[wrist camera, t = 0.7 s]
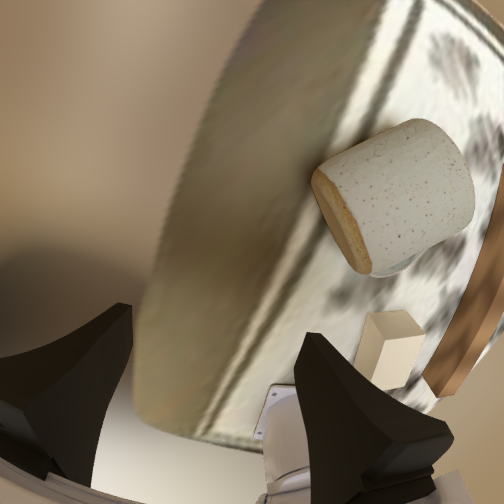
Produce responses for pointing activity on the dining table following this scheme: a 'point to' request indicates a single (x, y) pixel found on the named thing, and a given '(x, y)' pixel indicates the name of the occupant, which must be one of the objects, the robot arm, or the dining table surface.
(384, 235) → the ceramic mug
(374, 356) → the beige rectangular block
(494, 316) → the walnut rail
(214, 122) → the dining table surface
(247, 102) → the dining table surface
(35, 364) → the robot arm
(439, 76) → the dining table surface
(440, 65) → the dining table surface
